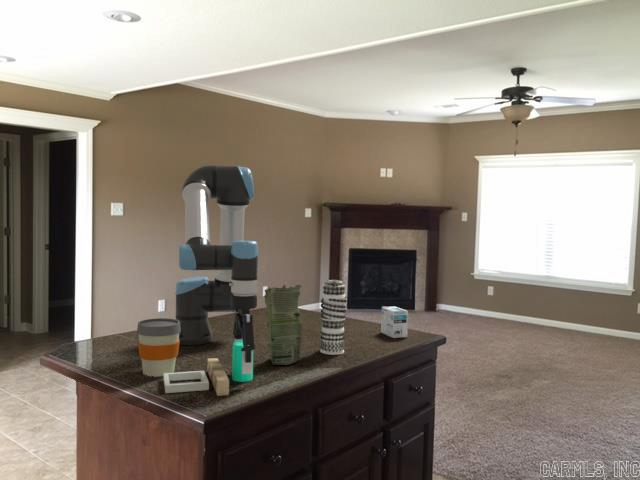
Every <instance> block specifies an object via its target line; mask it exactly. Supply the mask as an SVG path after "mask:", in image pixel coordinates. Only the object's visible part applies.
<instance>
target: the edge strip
mask: <svg viewBox="0 0 640 480" xmlns="http://www.w3.org/2000/svg"><path fill="white" fill-rule="evenodd" d="M206 366H207V371H206V372H207V374H208V377H209V379H210V381H211V383H212V386H213V388H214V391H215V393H216V395H217V397H219V396H229V395H230V379H229V377H228V375H227V373H226V371H225V369H224V368H223V365H222V364H221V362H220V360H219V358H218V357H215V358H214V357H213V358H212V357H211V358H207V365H206Z"/></svg>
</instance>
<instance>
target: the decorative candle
mask: <svg viewBox="0 0 640 480" xmlns="http://www.w3.org/2000/svg"><path fill="white" fill-rule="evenodd" d="M322 286H323V290H322V292H323V293H322V298H321V299H320V307H321V308H322V309H321V310H320V313H321V314H320V318H321V320H322V326H321V331H320V341H319V343H320V344H319V345H320V346H319V348H320V353H322V354H324V355H330V356H331V355H332V356H334V355H335V356H336V355H342V354H343V355H344V353H345V350H344V349H345V344H346V342H345V339H346V337H345V334H346V332H345V326H344V325H345V322H344V321H345V320H346V316H345V313H347V310H346V308H347V305H345V304H346V303H347V302H348V300H347V296H346V292H345V291H346V289H345V287H346V284H344V282H343V280H338V279H328V280H325V282H324V283H323V284H322Z"/></svg>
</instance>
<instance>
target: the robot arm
mask: <svg viewBox="0 0 640 480" xmlns="http://www.w3.org/2000/svg"><path fill="white" fill-rule="evenodd" d="M181 197H182V200H183V201H184V213H185V214H184V215H185V216H184V217H185V219H184V223H185V224H184V231H185V235H184V237H185V241H184V242H185V243H184V244H181V245H179V247H178V267H179V269H180V270H184V271H218V272H217V273H215V275H214V280H210V279H209V277H208V276H205V275H204V276H201V275H200V276H193V277H191V276H190V277H186V278H183V279H180V280H178V281H177V282H176V286H175V320H179V321H180V327H181V332H180V333H179V340H180V343H179V346H180V345H181V346H197V345H205V344H208V343H211V342H212V341H213V331H212V329H211V325H210V322H209V313H222V312H223V313H224V312H225V313H231V312H232V313H234V324H233V331H232V335H233V339H234V342H241V341H243V348H242V349H241V351H243V353H242V374H250V373H252V359H253V360H254V351H255V349H256V348H255V347H256V346H255V337H254V323H253V321H254V320H253V318H254V316H253V314H252V313H250V312H251V311H250V310H254V309H256V308H257V306H258V295H257V293H258V264H259V263H258V261H259V260H258V259H259V257H258V256H259V250H258V249H259V247H258V246H259V245H258V242H257V241H256V240H245V239H244V238H245V236H244V235H245V215H246V214H245V213H246V212H245V211H246V208H247V207H249V206H250V201H252V200H254V199H255V187H254V179H253V174H252V171H251V169H250V168H249V167H245V166H239V165H212V164H209V165H208V164H207V165H206V164H205V165H202V166H199V167H197V168H196V169H194V170H192V172H190V173H189V175H187V176H186V178H185V180H184V182H183V184H182V187H181ZM210 199H215V200H216V204H217V206H218V207H219V208H220V222H219V223H220V225H219V226H220V228H219V229H220V230H219V244H211V236H210V235H211V233H210V231H211V230H210V214H209V201H210ZM234 342H233V343H234ZM247 345H250V346H247Z"/></svg>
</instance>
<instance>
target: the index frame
mask: <svg viewBox="0 0 640 480" xmlns="http://www.w3.org/2000/svg"><path fill="white" fill-rule="evenodd" d="M162 379H163V386H164V393H165V394H171V393H173V394H174V393H185V392H196V391H197V392H198V391H200V392H201V391H209V389H210V382H209V379H208V377H207V374H206V372H205V370H194V371H193V370H191V371H179V372H178V371H177V372H176V371H174V373H164V376H162ZM189 380H200V381H195V382H179V383H171V382H175V381H189Z"/></svg>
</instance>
